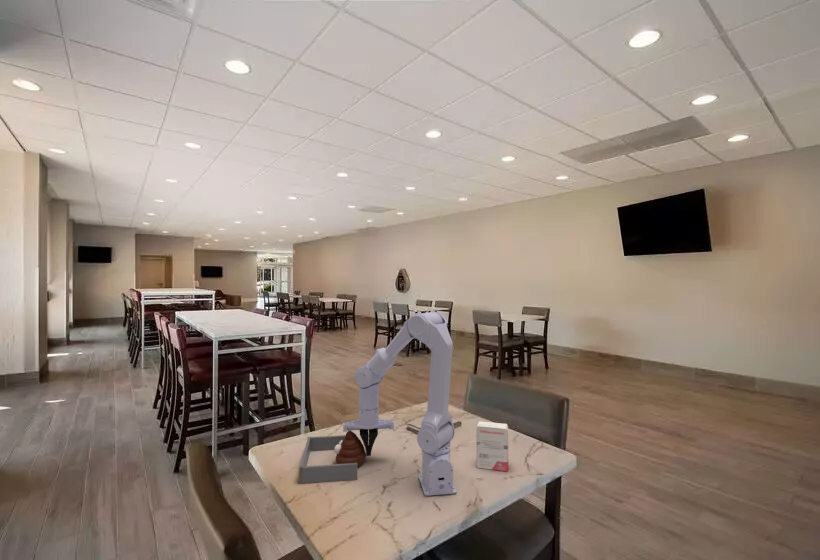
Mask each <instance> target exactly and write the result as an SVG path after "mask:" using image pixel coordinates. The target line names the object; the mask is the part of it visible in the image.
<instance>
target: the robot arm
mask: <svg viewBox="0 0 820 560" xmlns="http://www.w3.org/2000/svg"><path fill="white" fill-rule="evenodd" d="M413 339H416V340H418V341H419V342H421V343H422V344H424V345H426V347H427V348H428V349H429V350H430V351H431V352H430V367H429V377H428V378H429V380H428V395H427V405H426V406H427V408H426V409H427V410H426V412H425V415H424V416H423V420H422V424H421V429H420V431H419V432H418V434H416V436H417V437H416V440H417V444H418V446H419V449H421V452H422V453H421V454H422V455H421V456H422V457H421V462H422V463H421V464H422V465H421V466H422V467H421V471H422V472H421V474H419V475H418V476H417V477H418V479H419V480H418V481H419V483H420V486H421V488H422V492H423V494H424V496H441V495H442V496H443V495H452V494H455V495H456V494H457V489H456V487H455V485H454V468H453V467H454V466H453V465H452V462H451V441H452V440H453V439H454V437H455V433H456V432H455V431H456V430H455V429H456V428H455V429H454V426H453V423H452V418H453V415H452V414H451V413H450V412H449V407H450V406H449V405H450V392H451V376H452V364H453V351H454V350H453V349H454V344H453V343H454V342H453V340H452V337H451V335H450V332H449V329H448V320H447V319H446V318H445V317H444V316H443V315H442V314H441V313H440V312H438V311H429V312H423V313H421V312H417V313H413V314H412V315H410V316H409V318H408V319H407V320H406V321H404V322H403V326H402V327H401V329H399V331H398V332H397V333H396V335H395V336H394V337H393V339H391V341H390V343H388V345H387V346H386V347H381V348H378V349H375V351H374V353H375V354H374V355H373V356H372V357H371V358H370V360H367V361H366V362H365V364H366V365H365V366H360V367H358V368H357V369H356V371H355V374H354V380H355V383H356V385H357V386H358V420H354V421H347V422H343V423H342V424H343V425H342V432H343V433H344V432H346V433H347V432H348V431H359V436H360V438H361V442H363V443H362V444H363V446H364V449H365V453H366V457H371V456H372V450H373V446H374V443H375V441H376V439H377V437H378V434H379V430H385V429H389V430H394V429H395V422H394V420H393V419H392V420H388V419H386V420H385V419H379V417H380V416H379V411H380V410H379V404H380V403H379V401H380V399H379V397H380V396H379V395H380V388H381V383H382V381H383V380H384V375H385V374H386V373H387V372H388V370H389V369H391V368H392V366H393V365H394V364H395V363H396V359H397V358H396V356H397V355H398V354H399V353H400V352H401V351H402V350H404V348H405V347H406V346H407V345H408V344H409V343H410V342H411V341H412V340H413ZM453 419H454V418H453Z"/></svg>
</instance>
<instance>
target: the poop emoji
mask: <svg viewBox="0 0 820 560" xmlns="http://www.w3.org/2000/svg"><path fill="white" fill-rule="evenodd" d="M345 435H346V436H345V439H344V440H341V441H340V442H339V444H337V445H336V446H335V447H334V450H333V451H334V453H335V454H336V456H335V464H347V463H357V464H358V467H360V465H362V464H363V462H364V461H365V460H366V458H367V456H366V450H365V446H364V443H362V442H363V441H362V440H361V439H360V438H359V436H357V434H356V433H355V432H354V431H353V430H351V431H347V432H346V434H345Z"/></svg>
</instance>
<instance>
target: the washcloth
mask: <svg viewBox="0 0 820 560" xmlns="http://www.w3.org/2000/svg"><path fill="white" fill-rule="evenodd" d="M423 418H424V417H423ZM423 418H419V419H416V420H413V421H412V420H411V421H410V422H409V421H408V422H407V423H406V424H405V425H406V426H407V427H406V428H405V429H406V430H408V431H410V432H412V433H413V434H416V435H418V432H419V431H420V429H421V424H422V420H423ZM452 423H453V426H454V429H458V428H460V427H461V426H462V421H461V420H458V419H456V418H452Z"/></svg>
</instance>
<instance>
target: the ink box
mask: <svg viewBox="0 0 820 560" xmlns="http://www.w3.org/2000/svg"><path fill="white" fill-rule="evenodd" d="M476 468H477V469H483V470H493V471H499V472H500V471H501V472H509V426H508V423H499V422H491V421H481V420H478V422H477V424H476Z"/></svg>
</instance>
